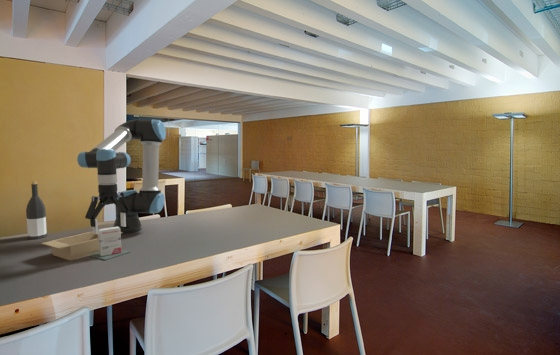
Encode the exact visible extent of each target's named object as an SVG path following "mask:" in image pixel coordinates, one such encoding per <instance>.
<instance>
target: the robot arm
mask: <svg viewBox="0 0 560 355" xmlns="http://www.w3.org/2000/svg"><path fill="white" fill-rule="evenodd" d="M166 137H167V132H166V126H165V125H164V122H163V121H161V120H159V119H136V118H135V119H130V120H128V121H125V122H123V123H122V124H120V125H118V126H117V127H115V129H114V132H112V133H111V134H110V135H109V136H108V137H106V138H105V139H103V140H102V141H101V142H100V143H98V144H97V145H96V146H95V147H93V148H92V149H91V150H89V151H82V152H80V153H78V155H77V158H76V160H77V164H78V165H79V167H81V168H86V169H96V170H97V184H98V185H97V188H98V196H96V195H95V196H94V195H93V196H91V202H90V204H89V206H88V209H87V211H86V214H85V216H84V218H85V219H87V220H89V221H90V224H89V225H90V227H92V231H93V234H98V229H99V227H98V226H99V224H98V223H99V222H98V219H97V217H98V216H99V215H100V212H102V209H103V208H105V206H107V205H108V206H109V205H115V220H114V224H113V226H112V227H116V226H118V227H119V228H120V230H121V232H123V233H122V234H130V233H135V232H138V231H139V232H140V231H141V230H142V229H143V228H142V223H141V220H140V217H139V214H158V213H160V212H161V211H162V209H164V204H165V194H164V193H163V192H162V189H161V188H160V187H159V172H160V171H159V170H160V169H159V167H160V166H159V164H160V146H161V145H162V144H163V141H164V140H165V139H166ZM133 140H134V141H135V140H138V141H139V140H140V142H139V143H140V144H141V145H142V178H141V180H142V182H141V186H142V187H140V188H139V190H137V189H130V190H123V191H118V184H117V183H118V174H117V170H118V169H124V168H128V167H129V166H130V165H131V162H132V158H131V156H130V155H129V154H128V153H127V152H125V151H124V152H123V151H119V152H116V151H117V150H118V149H120V148H121V147H122V146H123V145H124V144H125V143H129V142H130V141H133Z"/></svg>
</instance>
